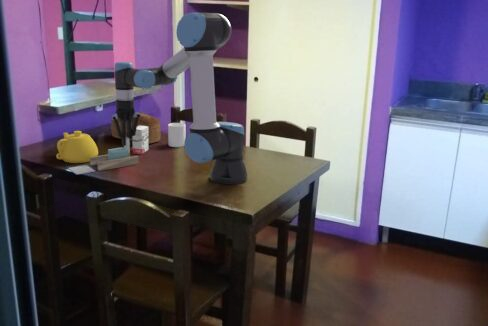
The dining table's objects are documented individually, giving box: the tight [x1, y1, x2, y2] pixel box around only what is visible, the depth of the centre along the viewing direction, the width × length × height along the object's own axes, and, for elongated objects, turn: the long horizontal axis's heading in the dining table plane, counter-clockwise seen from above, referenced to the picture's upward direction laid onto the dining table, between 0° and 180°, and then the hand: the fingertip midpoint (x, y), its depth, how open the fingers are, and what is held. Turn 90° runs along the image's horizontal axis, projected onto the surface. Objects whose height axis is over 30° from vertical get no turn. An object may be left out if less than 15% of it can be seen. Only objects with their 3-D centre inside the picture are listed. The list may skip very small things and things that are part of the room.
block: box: [107, 146, 128, 160], centre depth 215 cm, size 6×7×6 cm
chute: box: [89, 152, 140, 172], centre depth 214 cm, size 10×18×4 cm, turn 128°
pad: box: [68, 164, 96, 175], centre depth 206 cm, size 10×8×1 cm
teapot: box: [56, 130, 99, 164], centre depth 220 cm, size 20×19×13 cm
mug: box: [167, 122, 187, 148], centre depth 249 cm, size 9×12×11 cm
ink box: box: [132, 126, 149, 155], centre depth 234 cm, size 9×5×12 cm, turn 168°
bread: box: [110, 111, 161, 145], centre depth 255 cm, size 12×28×14 cm, turn 60°
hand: (127, 152), depth 217 cm, fingers closed
